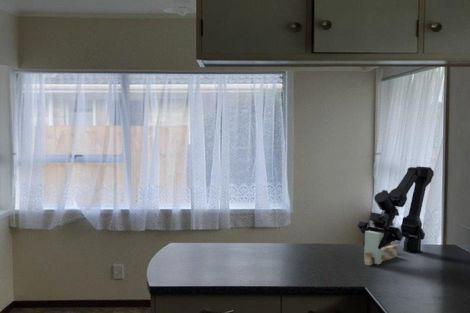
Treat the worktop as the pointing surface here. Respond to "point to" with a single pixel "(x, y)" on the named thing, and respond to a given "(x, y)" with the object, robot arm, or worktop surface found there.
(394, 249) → the beige long bar piece
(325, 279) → the worktop surface
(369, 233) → the sage block
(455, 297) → the worktop surface
